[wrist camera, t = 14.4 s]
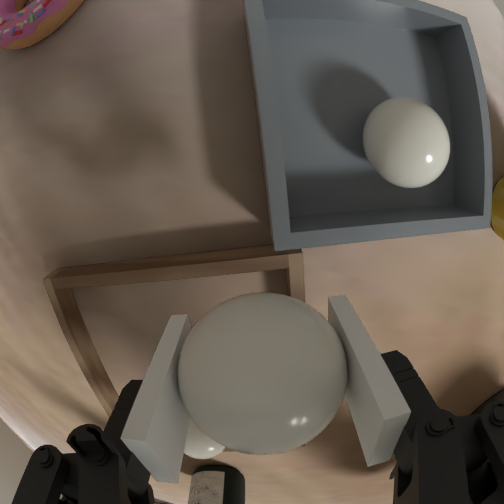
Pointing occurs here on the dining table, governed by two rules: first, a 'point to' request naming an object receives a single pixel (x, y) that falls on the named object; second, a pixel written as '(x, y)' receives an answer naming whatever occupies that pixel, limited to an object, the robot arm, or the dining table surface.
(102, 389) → the tray
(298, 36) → the grey shallow box
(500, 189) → the plant pot
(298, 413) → the pebble
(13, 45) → the donut
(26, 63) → the dining table surface
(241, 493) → the wine bottle
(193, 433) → the pebble
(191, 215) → the dining table surface
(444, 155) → the off-white glossy ball
